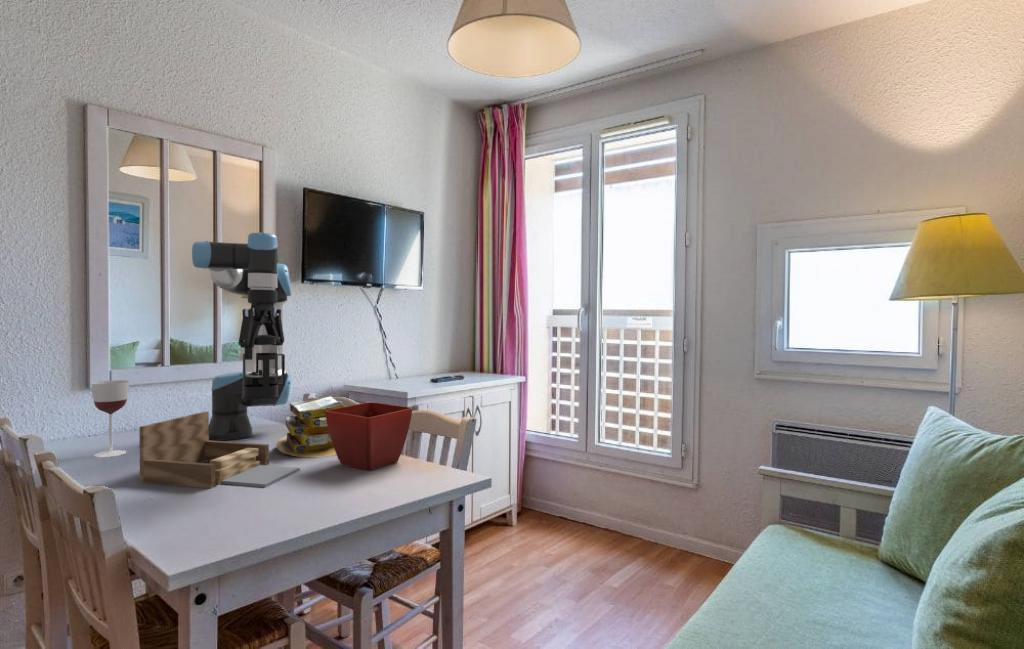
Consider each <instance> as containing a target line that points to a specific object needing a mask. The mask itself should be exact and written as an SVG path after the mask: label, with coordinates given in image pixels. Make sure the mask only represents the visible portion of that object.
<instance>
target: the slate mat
mask: <svg viewBox="0 0 1024 649" xmlns="http://www.w3.org/2000/svg"><path fill="white" fill-rule="evenodd" d="M300 470H301V467H294V466H281V465H280V466H279V465H269V464H268V465H259V466H256V467H254V468H252V469H249V470H247V471H244V472H242V473H240V474H237V475H235V476H232V477H230V478H228V479H225V480H223V481H222V484H221V485H232V486H233V485H234V486H244V487H245V486H246V487H247V486H248V487H255V488H257V487H258V488H267V487H269V486H272V485H273V484H275V483H278V482H279V481H281V480H284V479H286V478H288V477H289V476H292V475H294V474H296V473H297V472H300Z"/></svg>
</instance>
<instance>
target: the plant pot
mask: <svg viewBox="0 0 1024 649" xmlns="http://www.w3.org/2000/svg"><path fill="white" fill-rule="evenodd" d="M345 406H346V407H340V408H335V409H330V410H325V415H326V421H327V425H328V430H329V433H330V437H331V440H332V443H333V446H334V449H335V452H336V454H335V455H336V456H337V459H338V461H339V464H340V465H342V466H345V467H346V466H347V467H351V468H354V469H355V468H356V469H360V470H363V471H372V470H376V469H378V468H381V467H384V466H387V465H391V464H393V463H396V462H398V461H399V459H400V458H401V454H402V451H403V449H404V446H405V443H406V440H407V436H408V432H409V429H410V424H411V420H412V416H413V415H412V414H413V407H410V406H403V405H402V406H401V405H396V404H389V403H382V402H381V403H380V402H374V401H368V402H362V403H359V404H358V403H356V404H352V405H345Z"/></svg>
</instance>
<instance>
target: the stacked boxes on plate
mask: <svg viewBox="0 0 1024 649" xmlns="http://www.w3.org/2000/svg"><path fill="white" fill-rule="evenodd" d="M346 406H347V405H344V404H343V402H342V400H338V399H336V398H334V397H332V396H331V395H330V396H327V397H323V398H318V399H317V398H316V399H309V400H300V401H291V402H289V409H290V410H289V411H290V412H292V413H293V414H294V415H295V416H294V415H288V414H285V416H284V417H285V426H286V428H287V430H288V432H287V433H286V435H285V436H283V437H281V438H280V439H279V440H278V441H277V442H276V444H275V446H276V448H277V450H278V451H280V452H281V453H283V454H285V455H288V456H293V457H300V458H321V457H328V456H334V455H337V454H336V452H335V449H334V446H333V443H332V440H331V437H330V433H329V430H328V425H327V421H326V415H325V410H330V409H335V408H340V407H346Z"/></svg>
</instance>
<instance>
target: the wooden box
mask: <svg viewBox="0 0 1024 649" xmlns="http://www.w3.org/2000/svg"><path fill="white" fill-rule="evenodd" d="M209 414H210V413H209V411H201V412H197V413H192V414H188V415H184V416H180V417H176V418H172V419H167V420H163V421H159V422H154V423H150V424H146V425H142V426H139V483H142V484H143V483H145V484H155V485H166V486H178V487H179V486H180V487H191V488H202V489H203V488H204V489H213V488H215V487H216V485H215V464H210V463H206V462H210V460H213V459H216V458H219V457H222V456H225V455H228V454H231V453H234V452H237V451H240V450H243V449H245V448H258V456H256V461H260V465H268V466H269V463H270V462H269V459H270V458H269V457H270V456H269V454H270V453H269V452H270V450H269V448H270V447H269V446H270V445H269V443H268V444H266V443H255V442H239V441H238V442H237V441H225V440H210V439H209V424H210V420H209V419H210V418H209V416H210V415H209Z"/></svg>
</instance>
